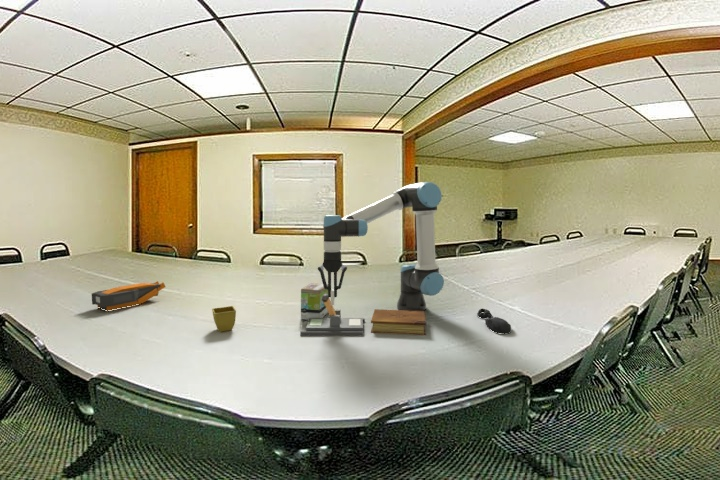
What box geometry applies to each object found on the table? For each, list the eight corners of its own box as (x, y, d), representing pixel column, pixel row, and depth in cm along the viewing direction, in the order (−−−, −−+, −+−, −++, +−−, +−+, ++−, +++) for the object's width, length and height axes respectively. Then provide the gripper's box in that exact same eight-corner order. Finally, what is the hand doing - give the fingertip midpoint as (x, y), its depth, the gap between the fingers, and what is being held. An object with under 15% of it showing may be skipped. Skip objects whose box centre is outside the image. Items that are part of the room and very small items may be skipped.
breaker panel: (362, 323, 172) (362, 308, 172) (363, 333, 158) (363, 317, 158) (310, 323, 172) (310, 308, 172) (306, 333, 158) (305, 317, 158)
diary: (423, 322, 175) (424, 310, 175) (425, 336, 157) (425, 323, 156) (374, 320, 178) (374, 308, 178) (370, 333, 160) (370, 320, 159)
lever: (339, 318, 168) (327, 292, 167) (338, 322, 162) (326, 295, 161) (333, 320, 168) (322, 294, 167) (332, 325, 162) (320, 297, 161)
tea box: (320, 320, 176) (320, 289, 174) (300, 319, 178) (299, 288, 176) (329, 311, 190) (329, 283, 189) (310, 310, 192) (310, 282, 191)
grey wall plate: (364, 321, 175) (364, 318, 175) (365, 335, 156) (365, 332, 156) (306, 321, 175) (306, 318, 175) (300, 335, 156) (300, 332, 156)
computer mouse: (493, 335, 157) (494, 322, 157) (472, 313, 189) (472, 302, 189) (516, 335, 157) (517, 323, 157) (491, 313, 189) (491, 302, 189)
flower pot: (215, 334, 157) (214, 313, 156) (212, 328, 165) (211, 308, 164) (236, 331, 161) (236, 310, 160) (233, 325, 169) (232, 305, 168)
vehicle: (170, 299, 215) (169, 282, 214) (103, 314, 186) (101, 294, 185) (156, 296, 222) (155, 279, 221) (90, 309, 194) (89, 290, 193)
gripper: (347, 249, 166) (347, 302, 168) (318, 249, 166) (318, 302, 168) (347, 252, 158) (347, 306, 160) (316, 251, 158) (316, 306, 160)
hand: (332, 304), depth 164 cm, fingers closed
